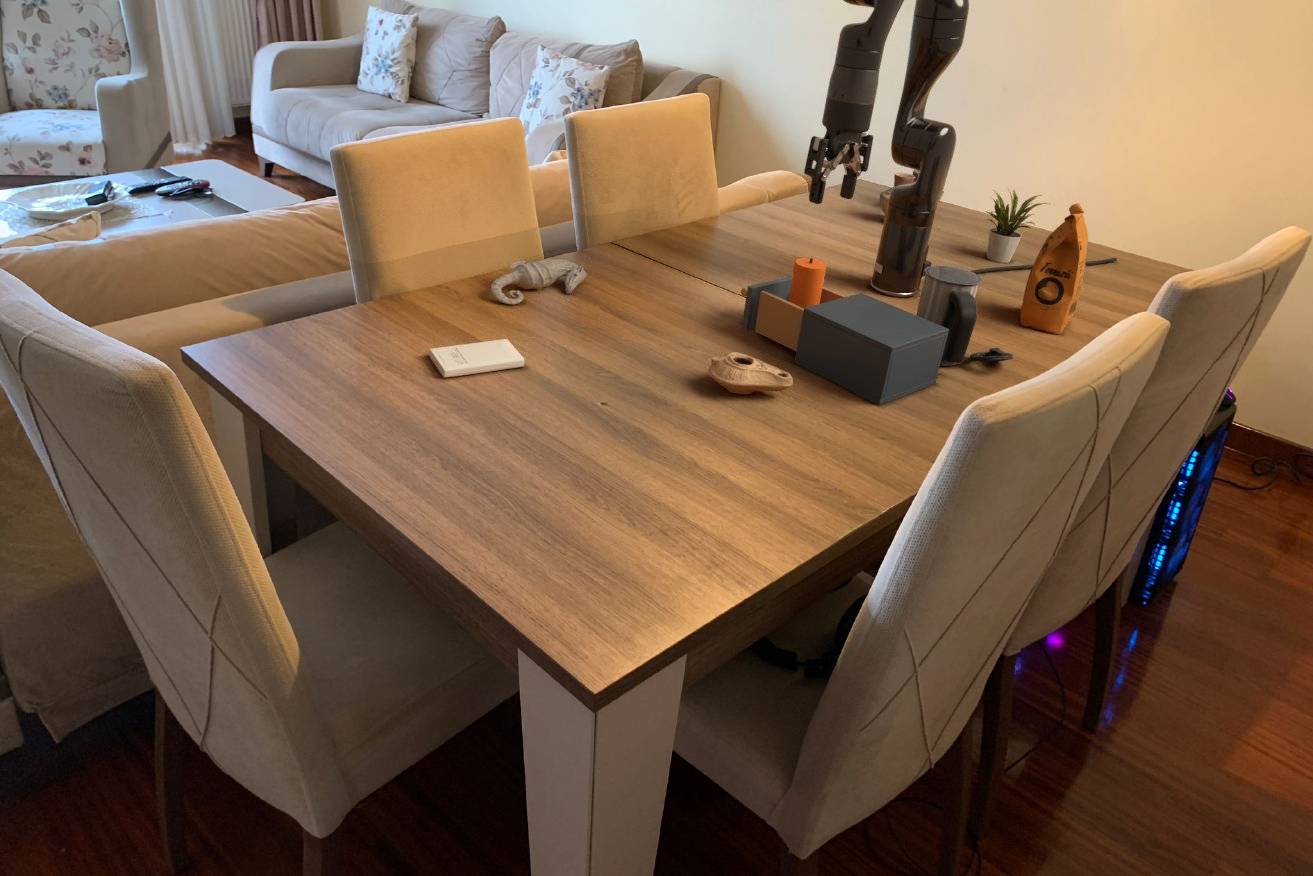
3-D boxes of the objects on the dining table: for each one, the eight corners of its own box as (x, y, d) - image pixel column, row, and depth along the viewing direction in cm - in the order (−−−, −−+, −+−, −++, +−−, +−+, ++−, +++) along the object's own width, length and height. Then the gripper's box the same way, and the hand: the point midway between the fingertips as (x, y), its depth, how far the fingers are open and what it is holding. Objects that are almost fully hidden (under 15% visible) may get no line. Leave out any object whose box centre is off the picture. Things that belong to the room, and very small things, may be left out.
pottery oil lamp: (786, 409, 134) (772, 373, 130) (713, 411, 141) (697, 377, 136) (801, 369, 140) (788, 333, 135) (730, 373, 146) (715, 339, 142)
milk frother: (894, 347, 160) (913, 265, 152) (965, 339, 166) (986, 260, 158) (946, 382, 148) (970, 296, 141) (1020, 373, 155) (1046, 290, 147)
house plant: (1042, 260, 213) (1063, 190, 205) (1029, 274, 203) (1051, 201, 195) (981, 245, 219) (1000, 177, 211) (965, 259, 209) (984, 187, 201)
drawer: (724, 319, 162) (729, 277, 158) (776, 306, 169) (782, 266, 166) (812, 364, 148) (820, 319, 144) (864, 347, 156) (873, 304, 152)
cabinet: (794, 362, 150) (803, 307, 146) (850, 344, 159) (861, 292, 154) (879, 405, 139) (892, 347, 134) (935, 383, 148) (949, 329, 143)
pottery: (866, 221, 230) (876, 173, 224) (904, 204, 248) (913, 159, 242) (909, 231, 224) (920, 183, 219) (944, 213, 243) (955, 168, 237)
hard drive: (524, 368, 140) (444, 379, 134) (506, 347, 146) (429, 356, 140) (524, 358, 139) (444, 369, 134) (506, 337, 145) (428, 346, 140)
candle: (798, 321, 161) (810, 251, 154) (820, 332, 157) (833, 260, 151) (777, 327, 158) (789, 255, 151) (800, 338, 154) (812, 265, 148)
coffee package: (1009, 324, 174) (1043, 210, 164) (1022, 306, 184) (1054, 197, 173) (1063, 338, 170) (1102, 222, 160) (1073, 319, 180) (1110, 208, 169)
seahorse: (526, 308, 158) (598, 266, 171) (478, 271, 160) (552, 233, 173) (521, 330, 161) (591, 287, 174) (474, 293, 164) (546, 254, 177)
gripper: (843, 103, 137) (822, 210, 144) (896, 100, 146) (874, 201, 153) (804, 94, 141) (786, 198, 149) (857, 92, 150) (838, 190, 158)
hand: (830, 200), depth 151 cm, fingers open, 8 cm apart
